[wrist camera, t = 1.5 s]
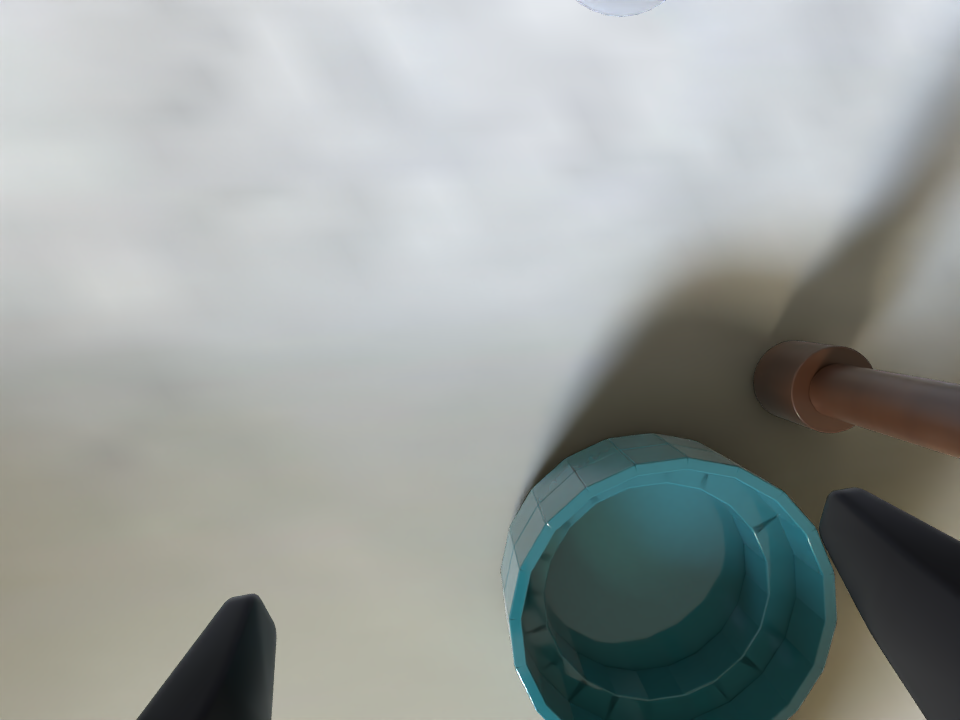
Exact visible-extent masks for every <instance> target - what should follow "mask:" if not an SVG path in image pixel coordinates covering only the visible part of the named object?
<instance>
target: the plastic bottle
mask: <svg viewBox="0 0 960 720" xmlns="http://www.w3.org/2000/svg"><path fill="white" fill-rule="evenodd" d="M576 1H578V2H579V3H580V4H582V5H583V6H585V7H587V8H589V9H590V10H592V11H595V12H598V13H601V14H604V15H609V16H619V17H623V16H631V15H637V14H640V13H643V12H646V11H649V10H651V9H653V8H655V7H656V6H658V5H660V4H661V3H663V2H664V1H666V0H576Z"/></svg>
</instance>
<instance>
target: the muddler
mask: <svg viewBox="0 0 960 720" xmlns="http://www.w3.org/2000/svg"><path fill="white" fill-rule="evenodd" d="M754 390H755V394H756V397H757V399H758V401H759V402H760V404H761V405H762V406H763V407H764V408H765V409H766V410H767V411H768V412H770V413H771V414H773V415H775V416H778V417H781V418H783V419H786V420H789V421H791V422H794V423H797V424H800V425H802V426H805V427H808V428H810V429H813V430H816V431H819V432H823V433H837V432H841V431H845V430H847V429H850V428H852V427H853V426H855V425H856V426H859V427H862V428H865V429H868V430H872V431H875V432H878V433H881V434H884V435H887V436H890V437H893V438H897V439H900V440H903V441H906V442H909V443H912V444H915V445H918V446H922V447H925V448H928V449H931V450H934V451H937V452H940V453H943V454H947V455H950V456H953V457H956V458H959V459H960V384H955V383H950V382H944V381H938V380H932V379H927V378H921V377H915V376H909V375H903V374H898V373H892V372H886V371H880V370H875V369H873V368H872V366H871V365H870V363H869V362H868V360H867V359H866V358H865V357H864V356H863V355H861V354H860V353H859V352H857V351H855V350H853V349H851V348H848V347H843V346H835V345H827V344H820V343H812V342H804V341H786V342H783V343H780V344H778V345H776V346H774V347H772V348H771V349H770V350H768V351H767V352H766V353H765V354H764V355H763V357H762V358H761V359H760V361H759V363H758V365H757V367H756V370H755V373H754Z"/></svg>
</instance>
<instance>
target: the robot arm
mask: <svg viewBox="0 0 960 720" xmlns="http://www.w3.org/2000/svg"><path fill="white" fill-rule="evenodd" d="M819 532H820V536H821V539H822V542H823V544H824V546H825V548H826V549H827V551H828V553H829V555H830V557H831V559H832V561H833V563H834V565H835V567H836V569H837V571H838V572H839V574H840V576H841V578H842V580H843V582H844V584H845V586H846V588H847V590H848V592H849V594H850V595H851V597H852V599H853V601H854V603H855V605H856V607H857V609H858V611H859V613H860V615H861V616H862V618H863V620H864V622H865V624H866V626H867V627H868V629H869V631H870V633H871V634H872V636H873V638H874V639H875V641H876V642H877V644H878V646H879V647H880V649H881V650H882V652H883V653H884V655H885V657H886V658H887V660H888V661H889V663H890V664H891V666H892V667H893V669H894V670H895V672H896V673H897V675H898V676H899V678H900V680H901V681H902V683H903V684H904V686H905V687H906V689H907V690H908V692H909V693H910V695H911V696H912V698H913V699H914V701H915V703H916V704H917V706H918V707H919V709H920V710H921V712H922V713H923V715H924V716H925V718H926V719H927V720H960V541H958V540H956V539H954V538H952V537H951V536H949V535H947V534H945V533H943V532H941V531H939V530H938V529H936V528H934V527H932V526H930V525H928V524H927V523H925V522H923V521H921V520H919V519H917V518H915V517H914V516H912V515H910V514H908V513H906V512H904V511H902V510H901V509H899V508H897V507H895V506H893V505H891V504H889V503H888V502H886V501H884V500H882V499H880V498H878V497H876V496H875V495H873V494H871V493H869V492H867V491H865V490H863V489H860V488H856V487H855V488H846V489H841V490H835V491H832V492H831V493H830V494H829V495H828V497H827V500H826V503H825V507H824V510H823V513H822V517H821V520H820V524H819ZM275 653H276V628H275V625H274V622H273V620H272V618H271V617H270V615H269V613H268V611H267V609H266V608H265V606H264V604H263V602H262V600H261V599H260V597H259V596H258V595H256V594H247V595H242V596H236V597H232V598H230V599H228V600H227V601H226V602H225V603H224V604H223V606H222V607H221V608H220V610H219V611H218V612H217V614H216V615H215V616H214V618H213V619H212V620H211V622H210V623H209V624H208V626H207V627H206V628H205V630H204V631H203V632H202V633H201V635H200V636H199V637H198V639H197V640H196V641H195V643H194V644H193V645H192V647H191V648H190V649H189V651H188V652H187V653H186V655H185V656H184V657H183V659H182V660H181V661H180V663H179V664H178V665H177V667H176V668H175V669H174V671H173V672H172V673H171V675H170V676H169V677H168V679H167V680H166V681H165V683H164V684H163V685H162V687H161V688H160V689H159V691H158V692H157V693H156V695H155V696H154V697H153V699H152V700H151V701H150V702H149V704H148V705H147V706H146V708H145V709H144V710H143V712H142V713H141V714H140V716H139V717H138V718H137V720H271V716H272V700H273V684H274V669H275Z"/></svg>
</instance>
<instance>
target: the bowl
mask: <svg viewBox="0 0 960 720" xmlns="http://www.w3.org/2000/svg"><path fill="white" fill-rule="evenodd" d="M501 579H502V587H503V595H504V603H505V611H506V618H507V624H508V630H509V635H510V642H511V648H512V654H513V660H514V666H515V669H516V671H517V673H518V675H519V677H520V679H521V681H522V683H523V685H524V687H525V689H526V691H527V693H528V695H529V697H530V699H531V701H532V703H533V705H534V707H535V709H536V710H537V712H538V713H539V714H540V715H541V716H542V717H543V718H544V719H545V720H788V719H789V718H790V717H791V716H792V715H793V714H795V713H796V711H798V709H799V708H800V706H801V705H802V703H803V702H804V700H805V698H806V697H807V695H808V694H809V692H810V691H811V689H812V687H813V686H814V684H815V683H816V681H817V680H818V678H819V677H820V675H821V673H822V672H823V670H824V668H825V664H826V660H827V657H828V653H829V649H830V646H831V642H832V638H833V635H834V631H835V627H836V624H837V622H836V621H837V611H836V591H835V574H834V570H833V568H832V566H831V563H830V561H829V558H828V556H827V553H826V551H825V548H824V546H823V543H822V541H821V538H820V536H819V534H818V531H817V529H816V527H815V526H814V525H813V523H812V522H811V521H810V520H809V519H808V518H807V517H806V516H805V514H804V513H803V512H802V511H801V510H800V509H799V508H798V507H797V505H796V504H795V503H794V502H793V501H792V500H791V499H790V498H789V496H788V495H787V494H786V493H785V492H784V491H782V490H781V489H780V488H778V487H776V486H775V485H773V484H771V483H769V482H768V481H766V480H764V479H763V478H761V477H759V476H758V475H756V474H754V473H752V472H751V471H749V470H747V469H746V468H744V467H742V466H741V465H739V464H737V463H735V462H734V461H732V460H730V459H728V458H727V457H725V456H723V455H721V454H719V453H718V452H716V451H714V450H712V449H710V448H709V447H707V446H705V445H703V444H701V443H700V442H697V441H695V440H689V439H684V438H679V437H673V436H668V435H662V434H657V433H646V434H639V435H631V436H623V437H616V438H609V439H608V440H607V439H605V440H603V441H601V442H599V443H597V444H595V445H593V446H590V447H588V448H586V449H584V450H582V451H580V452H578V453H575V454H573V455H571V456H569V457H567V458H566V459H564V460H563V461H562V462H561V463H560V464H558V465H557V466H556V467H555V468H554V469H553V470H552V471H551V472H550V473H549V474H547V475H546V476H545V477H544V478H543V479H542V480H541V481H540V482H539V483H538V484H537V485H535V486H534V487H533V489H531V491H530V493H529V494H528V496H527V498H526V500H525V501H524V503H523V505H522V507H521V508H520V510H519V512H518V513H517V515H516V517H515V519H514V520H513V522H512V524H511V526H510V529H509V532H508V537H507V542H506V547H505V552H504V556H503V561H502V566H501Z"/></svg>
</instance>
